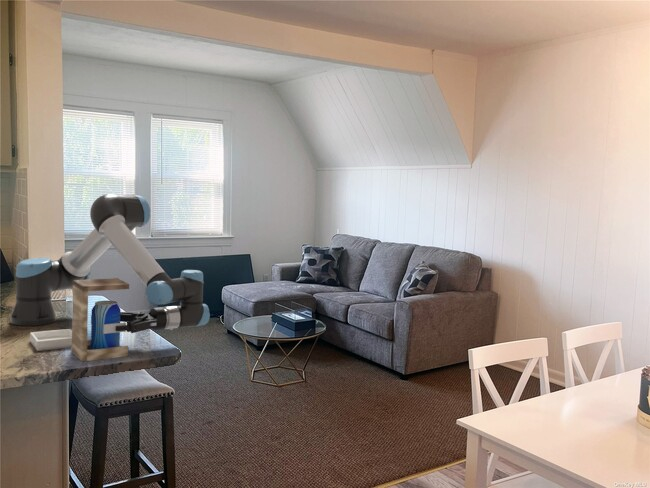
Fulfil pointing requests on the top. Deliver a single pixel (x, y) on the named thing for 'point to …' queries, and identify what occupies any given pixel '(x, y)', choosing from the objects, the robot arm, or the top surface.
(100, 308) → the beer can
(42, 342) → the tray
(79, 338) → the dock
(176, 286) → the robot arm
